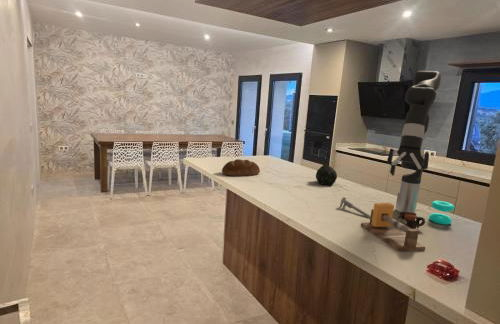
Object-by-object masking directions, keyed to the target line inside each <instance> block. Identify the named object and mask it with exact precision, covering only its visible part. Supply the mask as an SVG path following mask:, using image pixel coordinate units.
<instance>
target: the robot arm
mask: <svg viewBox="0 0 500 324" xmlns="http://www.w3.org/2000/svg"><path fill="white" fill-rule="evenodd" d="M441 79H442V75H441V73H440V72H439V71H435V70H418V71H417V70H416V72H415V73H414V77H413V82H412V86H410V87H408V89H407V91H406V92H405V95H404V96H405V97H404V101H405V102H406V103H407V104H408V105H410V108H409V110H408V111H407V113H406V118H405V122H404V126H403V129H402V132H401V138H400V142H399V143H400V144H399V148H398V149H394V148H390V149H389V152H388V157H387V159H386V163H387V164H388V165H390V171H389V173H390V175H391V176H395V174H396V173H395V172H396V168H397V167H396V166H397V165H398V164H399V163H401V168H404V169H407V170H412V171H413V170H414V172H412V173H408V174H403V175H402V176H401V180H400V187H399V192H398V193H397V197H396V202H395V203H396V204H395V207H394V208H395V209H394V210H396V212H398V213H399V214H400V213H401V212H412V213H416V210H417V204H418V199H419V193H420V188H421V187H420V186H421V182H422V174H423V172H424V171H423V170H428V166H429V161H430V154H429V152H425V153H424V152H421V149H422V145H423V140H424V135H426V133H427V131H428V128H429V123H430V114H429V111H430V110H431V107H432V106H433V104H434V102H435V100H436V98H437V93H436V91H437V90H438V89H439V87H440V84H441V81H442V80H441ZM396 154H397V158H396V159H394V160H393V158H394V156H395V155H396Z"/></svg>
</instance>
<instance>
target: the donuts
mask: <svg viewBox="0 0 500 324" xmlns="http://www.w3.org/2000/svg"><path fill="white" fill-rule="evenodd" d="M431 207H432V208H434V210H437V211H440V212H444V213H446V212H448V213H450V212H453V211H455V205H454V204H452V203H450V202H447V201H444V200H443V201H442V200H433V201H432V202H431ZM428 218H429V220H430V221H431V222H433V223H436V224H439V225H445V226H447V225H450V224H451V223H452V221H453V220H452V218H451V217H450V216H449V215H447V214H443V213H439V212H433V213H431V214H429V216H428Z"/></svg>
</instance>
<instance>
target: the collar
mask: <svg viewBox="0 0 500 324" xmlns="http://www.w3.org/2000/svg"><path fill="white" fill-rule="evenodd" d="M394 208H395V205H394V204H392V203H390V202H385V203H384V202H379V203H378V202H375V203H374V204H373V209H374V210H373V216H372V223H371V224H372V225H373V226H375V227H386V226H391V227H392V224H390V223H388V222H387V221H385V220H383V219H382V218H381V216H382V214H385V215H387V216H389V217H391V218H393V216H394V215H393V214H394V210H395V209H394Z"/></svg>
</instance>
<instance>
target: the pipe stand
mask: <svg viewBox="0 0 500 324" xmlns="http://www.w3.org/2000/svg"><path fill="white" fill-rule="evenodd" d="M373 210H374V208H372V209H371V212H370V215H371V217H370V218H369V222H361V224H360V226H361V227H362V228H363V229H365V230H367V231H368V232H369V233H370V234H373V235H374V236H376V237H377V238H378V239H380V240H381V241H383V242H384V243H385V244H388V245H389V246H390V247H392V248H393V249H394V250H395V251H398V252H399V253H401V252H414V251H415V252H418V251H420V252H421V251H425V250H426V246H425V245H423V244H421V243H420V242H418V236H419V232H420V231H419V230H418V229H417V228H416V229H411V228H409V227H407V226H405V225H403V224H404V223H401V222H400V221H399V220H396V219H394V218H393V217H392V218H391V217H389V216H387V215H385V214H382V216H381V218H382V219H383V220H385V221H387V222H388V223H390V224H391V226H386V227H375V226H373V225H372V224H371V223H372V216H373ZM394 227H395V228H394ZM396 228H397V229H396ZM398 229H399V230H401V231H402V232H401V231H399V230H398ZM403 232H404V233H403Z"/></svg>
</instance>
